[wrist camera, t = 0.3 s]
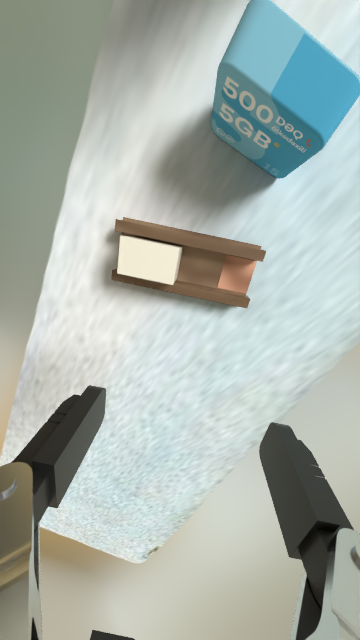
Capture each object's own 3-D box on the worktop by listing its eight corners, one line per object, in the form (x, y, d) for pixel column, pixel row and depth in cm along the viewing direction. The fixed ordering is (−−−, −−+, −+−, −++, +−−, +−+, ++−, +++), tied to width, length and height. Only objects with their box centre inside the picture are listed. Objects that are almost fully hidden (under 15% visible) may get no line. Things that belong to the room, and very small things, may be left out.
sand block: (133, 236, 32) (120, 235, 27) (182, 247, 32) (179, 247, 27) (130, 268, 34) (117, 273, 28) (176, 278, 34) (173, 285, 28)
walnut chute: (125, 217, 32) (116, 214, 29) (259, 246, 32) (267, 246, 29) (120, 279, 36) (111, 283, 32) (240, 304, 36) (245, 311, 32)
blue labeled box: (209, 131, 28) (218, 56, 17) (228, 92, 26) (252, -19, 15) (279, 181, 29) (330, 144, 18) (301, 148, 28) (372, 83, 17)
